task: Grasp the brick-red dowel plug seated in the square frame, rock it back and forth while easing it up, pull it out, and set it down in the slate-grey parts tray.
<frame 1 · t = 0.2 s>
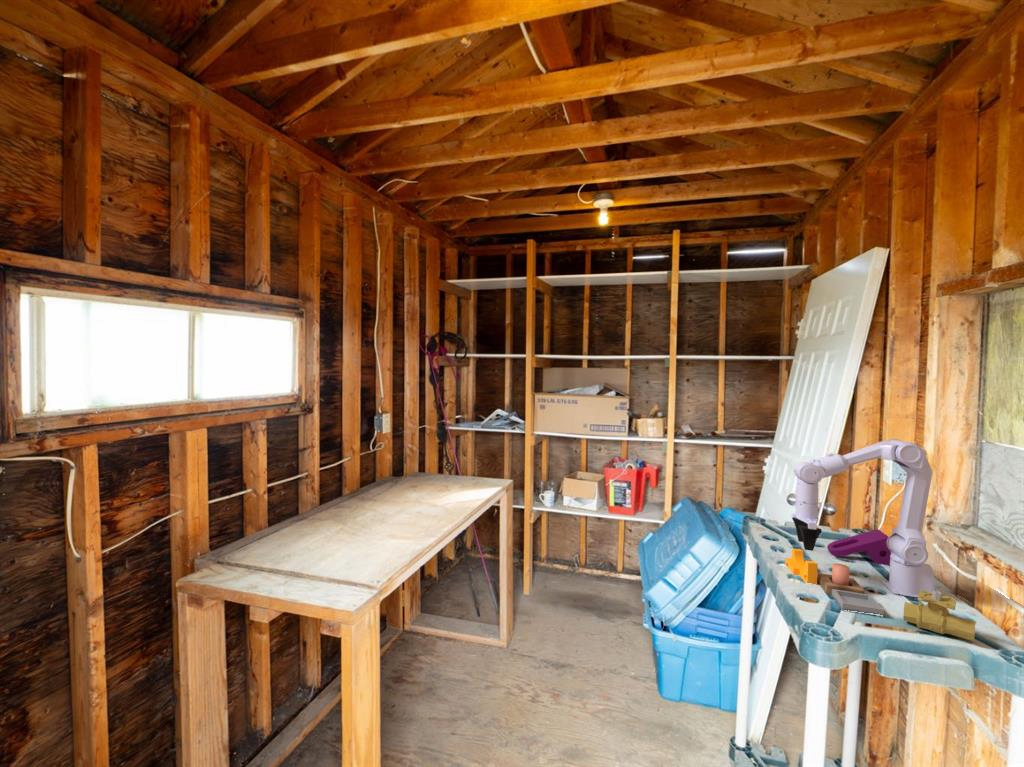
hand: (805, 545, 142), 10 cm above the table, tool pointing down, fingers open, 7 cm apart
square frame: (839, 589, 134), on the table
pipe clamp: (800, 576, 144), on the table
parts tray: (856, 606, 124), on the table
ball valve: (937, 631, 114), on the table
mounting bracket: (858, 558, 161), on the table
plug: (839, 590, 134), resting in square frame
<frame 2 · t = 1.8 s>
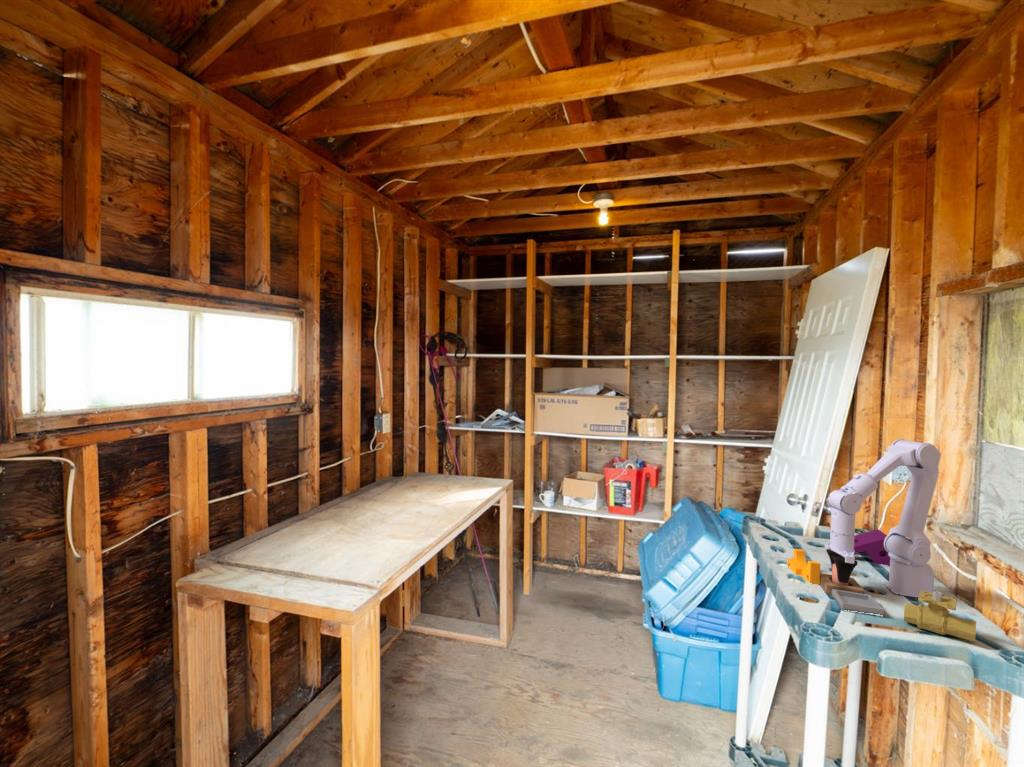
hand: (840, 579, 134), 3 cm above the table, tool pointing down, fingers closed on plug, 4 cm apart
plug: (839, 590, 134), resting in square frame, touching gripper
everything else where it was.
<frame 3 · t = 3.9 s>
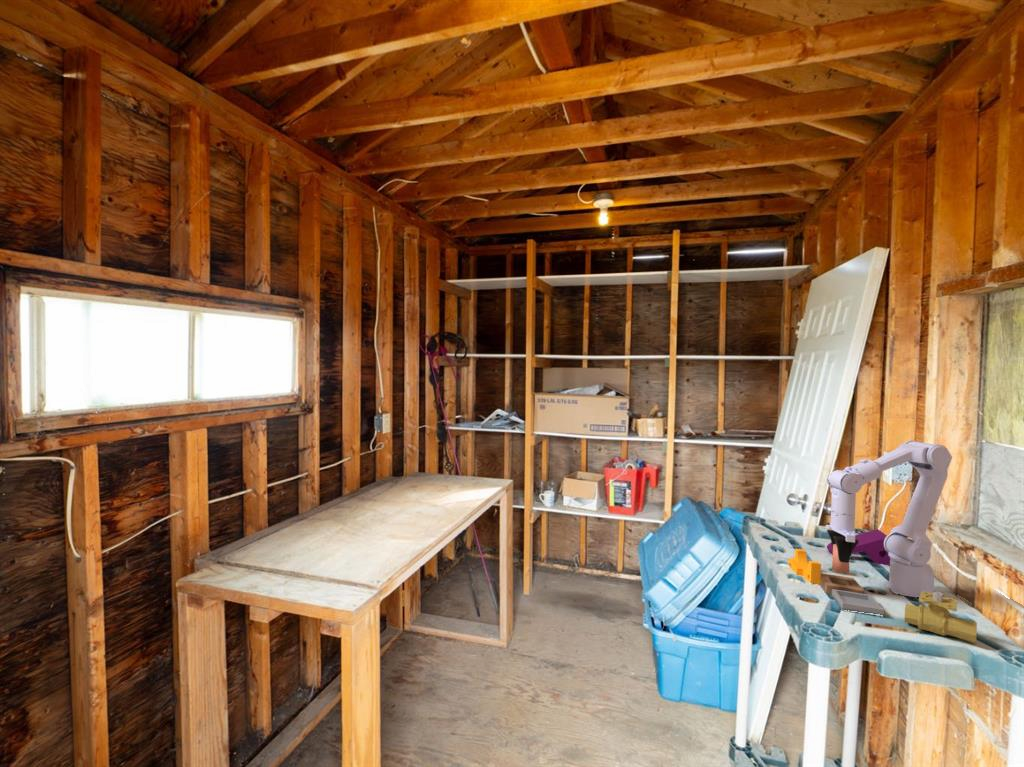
hand: (841, 558, 134), 9 cm above the table, tool pointing down, fingers closed on plug, 4 cm apart
plug: (840, 570, 134), point 6 cm above the table, touching gripper
everything else where it was.
when the fingers open (5 cm above the table, at t = 5.9 s): plug stays where it is, resting on parts tray.
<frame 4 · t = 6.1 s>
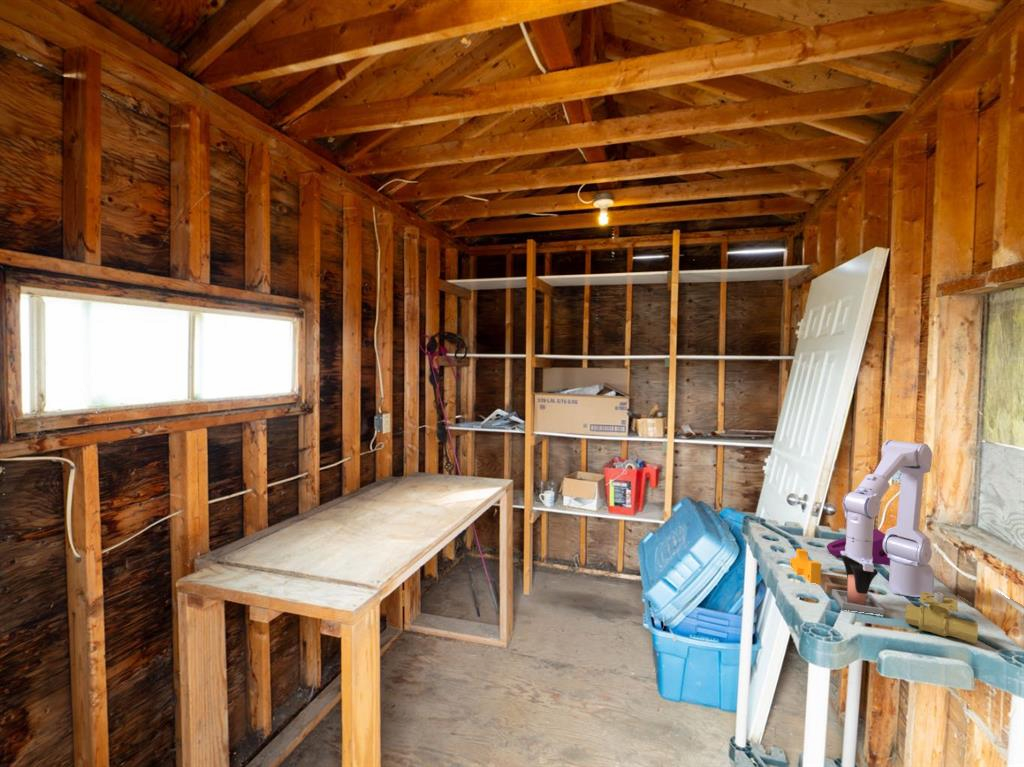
hand: (857, 587, 124), 5 cm above the table, tool pointing down, fingers open, 6 cm apart
plug: (856, 603, 124), point 1 cm above the table, touching parts tray
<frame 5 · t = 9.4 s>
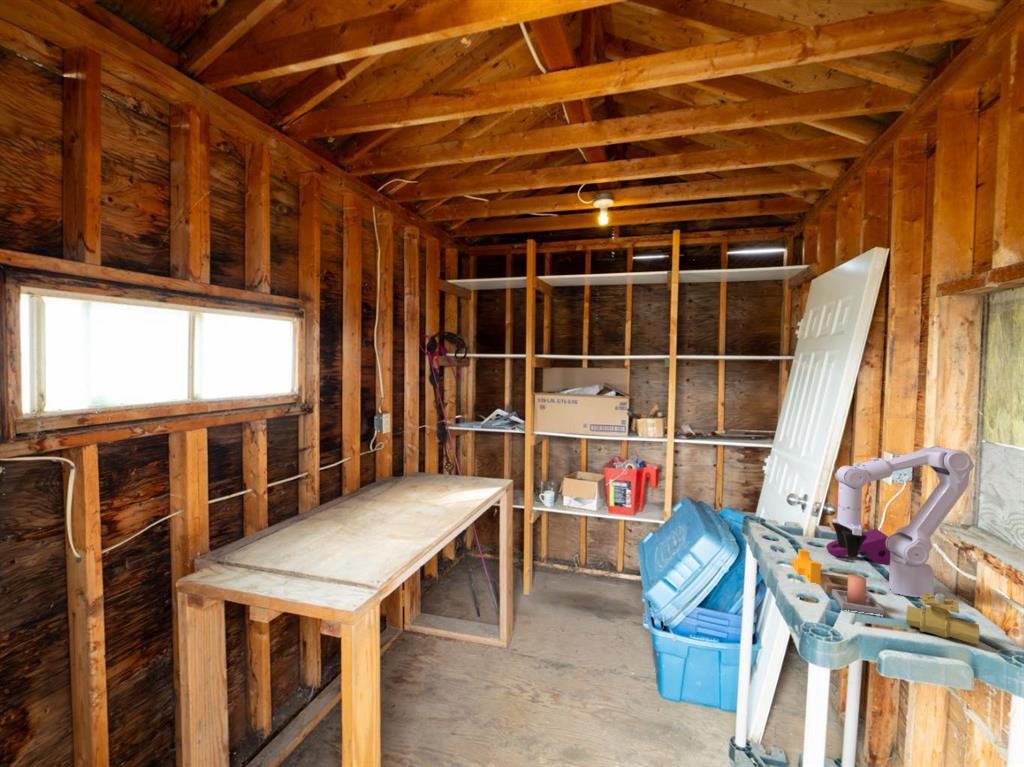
hand: (847, 551, 138), 10 cm above the table, tool pointing down, fingers open, 7 cm apart
at the end: plug inside the target area on the parts tray (0.1 cm from its centre), point 0.8 cm above the parts tray's base; the gripper is holding nothing; plug touching parts tray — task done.
